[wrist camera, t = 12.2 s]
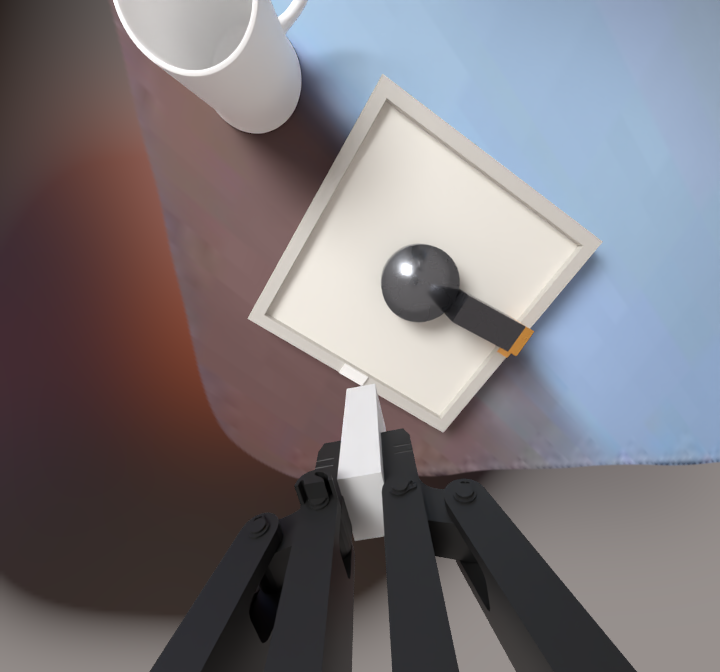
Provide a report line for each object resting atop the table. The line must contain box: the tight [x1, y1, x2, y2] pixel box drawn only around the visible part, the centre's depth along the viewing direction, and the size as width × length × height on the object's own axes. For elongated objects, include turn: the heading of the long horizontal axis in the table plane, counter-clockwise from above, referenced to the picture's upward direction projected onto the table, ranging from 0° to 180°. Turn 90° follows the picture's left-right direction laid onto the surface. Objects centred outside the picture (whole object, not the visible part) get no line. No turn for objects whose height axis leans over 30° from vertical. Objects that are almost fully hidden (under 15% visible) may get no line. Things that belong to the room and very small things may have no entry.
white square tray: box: [248, 74, 602, 432], centre depth 33 cm, size 24×24×3 cm
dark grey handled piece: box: [381, 244, 534, 356], centre depth 31 cm, size 14×7×4 cm, turn 62°
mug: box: [113, 0, 308, 134], centre depth 24 cm, size 12×8×12 cm
